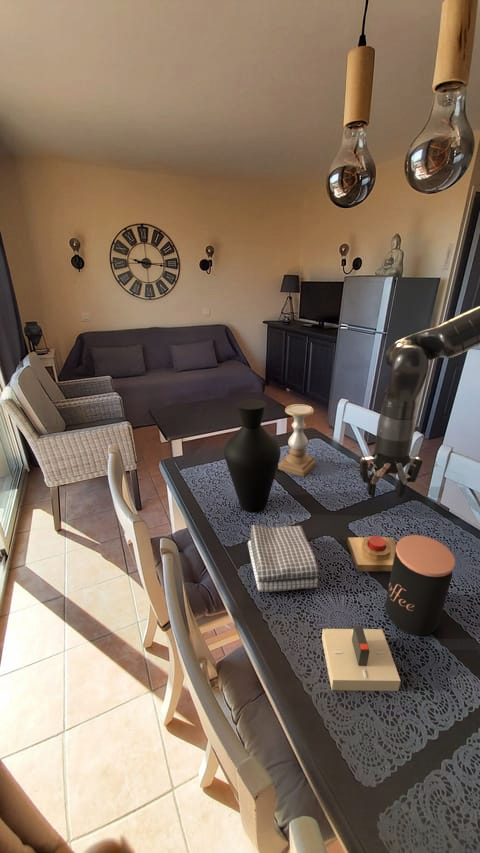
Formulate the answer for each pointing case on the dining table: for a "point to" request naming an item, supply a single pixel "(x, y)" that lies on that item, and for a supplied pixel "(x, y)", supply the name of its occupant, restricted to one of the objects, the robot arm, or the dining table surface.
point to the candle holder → (298, 443)
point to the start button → (377, 543)
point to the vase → (252, 457)
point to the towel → (282, 559)
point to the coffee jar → (419, 584)
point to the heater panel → (345, 666)
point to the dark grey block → (360, 646)
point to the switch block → (371, 554)
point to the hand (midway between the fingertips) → (384, 495)
